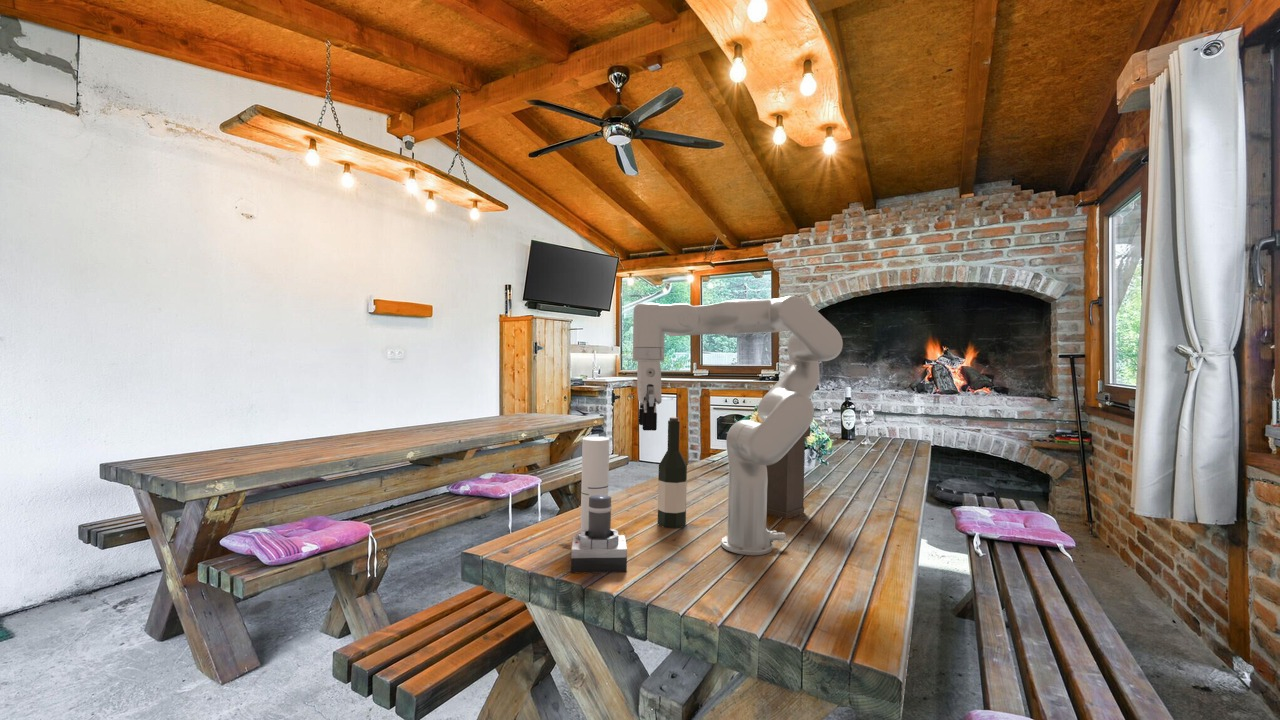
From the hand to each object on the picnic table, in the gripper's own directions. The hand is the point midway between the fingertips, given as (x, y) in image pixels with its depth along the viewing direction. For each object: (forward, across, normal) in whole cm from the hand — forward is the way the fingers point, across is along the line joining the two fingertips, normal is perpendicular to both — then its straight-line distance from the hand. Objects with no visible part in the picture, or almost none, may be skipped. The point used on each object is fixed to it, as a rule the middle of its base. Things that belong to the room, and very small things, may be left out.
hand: (647, 427), depth 126 cm
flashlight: (+25, -6, +11) cm, 28 cm away
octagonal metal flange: (+30, -6, +11) cm, 33 cm away
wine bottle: (+31, +23, -10) cm, 39 cm away
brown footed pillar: (+31, +37, -44) cm, 65 cm away
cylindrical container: (+30, +16, +12) cm, 36 cm away
